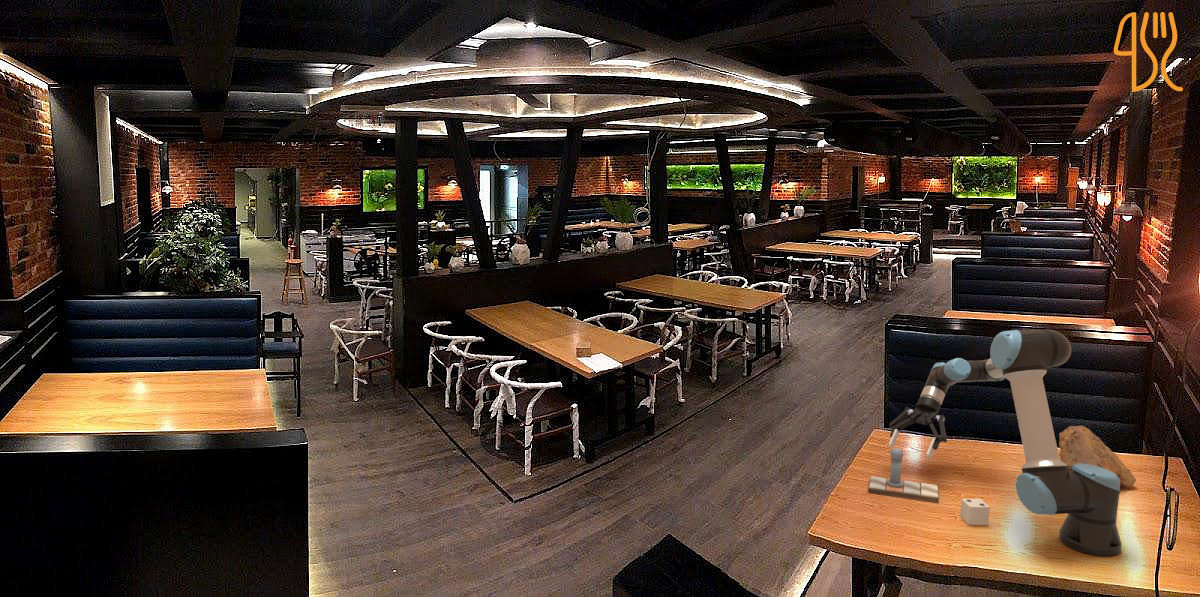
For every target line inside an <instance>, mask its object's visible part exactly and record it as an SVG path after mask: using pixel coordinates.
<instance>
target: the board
mask: <svg viewBox="0 0 1200 597" xmlns="http://www.w3.org/2000/svg"><path fill="white" fill-rule="evenodd" d="M869 478H870V479H869V482H868V483H869V484H868V492H869V493H868V494H873V493H874V494H875V495H880V496H881V495H882V496H888V497H893V498H895V497H896V498H901V499H902V498H903V499H908V500H915V501H923V502H930V503H937V504H939V502H940V501H939V499H940V498H939V486H938V484H932V483H925V482H919V481H910V480H903V479H901V480H900V481H902V482H903V484H902V487H901V488H894V487H890V486H888V480H889V479H890V477H881V476H876V475H875V476H874V475H870V477H869Z"/></svg>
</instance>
